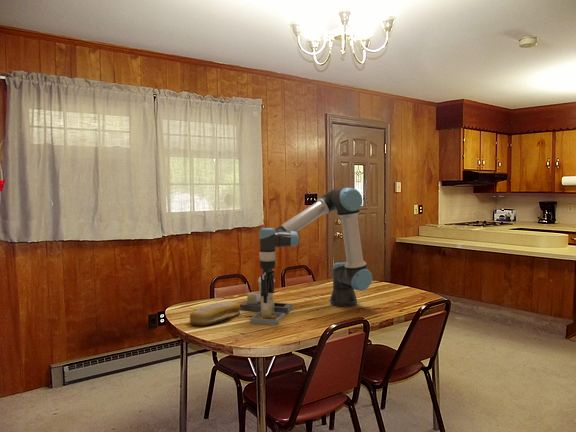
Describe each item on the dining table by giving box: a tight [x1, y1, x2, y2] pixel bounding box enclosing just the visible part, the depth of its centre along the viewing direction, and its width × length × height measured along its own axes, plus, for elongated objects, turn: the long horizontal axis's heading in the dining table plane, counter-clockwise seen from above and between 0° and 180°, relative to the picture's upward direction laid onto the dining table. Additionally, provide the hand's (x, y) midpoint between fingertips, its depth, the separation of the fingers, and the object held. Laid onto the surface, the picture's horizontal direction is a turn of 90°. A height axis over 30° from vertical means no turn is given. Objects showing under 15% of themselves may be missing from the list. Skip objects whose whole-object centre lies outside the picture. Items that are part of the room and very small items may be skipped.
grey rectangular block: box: [246, 292, 260, 305], centre depth 231 cm, size 5×5×8 cm
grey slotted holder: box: [239, 300, 293, 315], centre depth 229 cm, size 26×9×4 cm, turn 74°
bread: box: [189, 301, 241, 327], centre depth 214 cm, size 13×26×8 cm, turn 141°
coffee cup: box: [257, 276, 276, 302], centre depth 244 cm, size 10×10×15 cm
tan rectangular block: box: [260, 297, 275, 318], centre depth 213 cm, size 5×5×8 cm
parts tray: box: [250, 311, 286, 326], centre depth 213 cm, size 13×13×2 cm
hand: (267, 307), depth 213 cm, fingers closed on tan rectangular block, 5 cm apart
